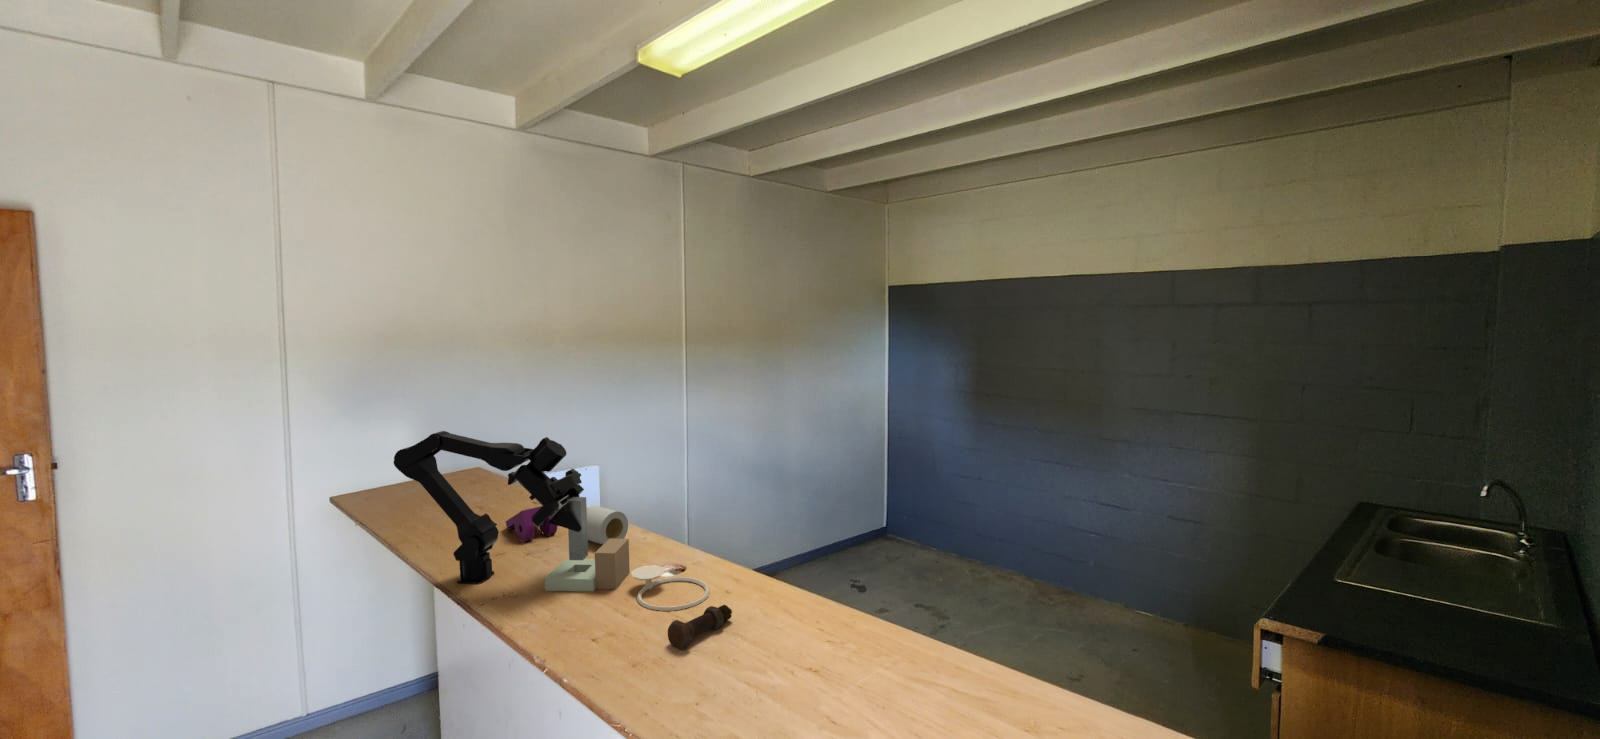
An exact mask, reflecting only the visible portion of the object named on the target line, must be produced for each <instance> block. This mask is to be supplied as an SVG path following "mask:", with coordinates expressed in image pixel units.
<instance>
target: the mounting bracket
mask: <svg viewBox="0 0 1600 739" xmlns="http://www.w3.org/2000/svg"><path fill="white" fill-rule="evenodd" d="M541 507H542V505H541V506H537V507H532V508H527V509H523V510H521V511H519V512H518V513H516V514H515V515H513V516H511V517H510V518H508V519H507V520H505V525H506V529H509V530H510V528H511V529H515V532H516V535H517V538H518V540H519V539H520V540H519V541H521V540H522V541H521V542H523V541H524V542H527V540H528V541H531V539H532V540H533V539H534V537H535V525H534V524H533V523H532V516H533V515H534V514H535V513H536V512H537V511H538V510H539V509H540V508H541ZM549 520H550V518H549V516H548V517H547V518H546V519H545V520H544V523H543V524H542V525H540V526H539V527H538V528H539V531H540V532H541V533H542V532H543V533H544V534H546V535H547V536H550V534H551V535H554V534H553V533H555V534H556V533H557V530H558V526H557V525H553V524H547V522H548V521H549ZM514 527H515V528H514ZM544 534H543V535H544ZM546 535H545V536H546Z"/></svg>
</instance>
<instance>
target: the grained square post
mask: <svg viewBox="0 0 1600 739" xmlns="http://www.w3.org/2000/svg"><path fill="white" fill-rule="evenodd" d="M567 504H568V512H569V513H570V515H571V516H572V517H573V518H574V520H575V521H576V522H577V523H578V524H579V526H580V527H581V530H580V531H579V532H576V531H573V530H570V529H567V530H568V556H569V557H568V558H569V560H584V559H585V558H587V557H588V556H589V540H588V536H587V508H588V507H587V497H586V496H579V497H572V498H571V499H569V500H568V501H567Z"/></svg>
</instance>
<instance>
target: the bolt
mask: <svg viewBox="0 0 1600 739" xmlns="http://www.w3.org/2000/svg"><path fill="white" fill-rule="evenodd" d="M732 614H733V610H732V609H731V608H730V607H729V606H728V605H726V604H723V605H720V606H718V607H716V606H713V605H709V606H708V607H706V609H705V610H704V611H703V614H701V615H700V616H697V617H695V618H693V619H691V620H689V621H687V622H683V621H681V620H679V619H675V620H673V621H672V622H670V624H669V625H668V628H667V638H668V639H667V640H668V641H669V643H670V645H671V646H672V647H673V648H674V649H676V650H680V649H681V650H685V649H686V647H687V648H688V646H689V644H690V642H691V640H693V639H692V638H695V637H696V636H698V635H700V634H702V633H705V632H707V631H709V630H711V631H718V630H719V629H721V627H722V626H723V624H724V623H725V622H726V621H729V620H730V619H731V618H732V616H733V615H732ZM681 650H680V651H681Z"/></svg>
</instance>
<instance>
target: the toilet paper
mask: <svg viewBox="0 0 1600 739" xmlns="http://www.w3.org/2000/svg"><path fill="white" fill-rule="evenodd" d="M628 530H629V521H628V518H627V516H626V514H624V513H623V512H621V511H619V510H614V509H611V508H607V507H603V506H599V505H591V506H589V507H587V536H588V542H589V541H590V542H593V543H596V544H598V545H599V544H600V545H601V546H602V545H603V544H604V543H605V542H606V541H607V540H609V539H626V536H627V533H628Z"/></svg>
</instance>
